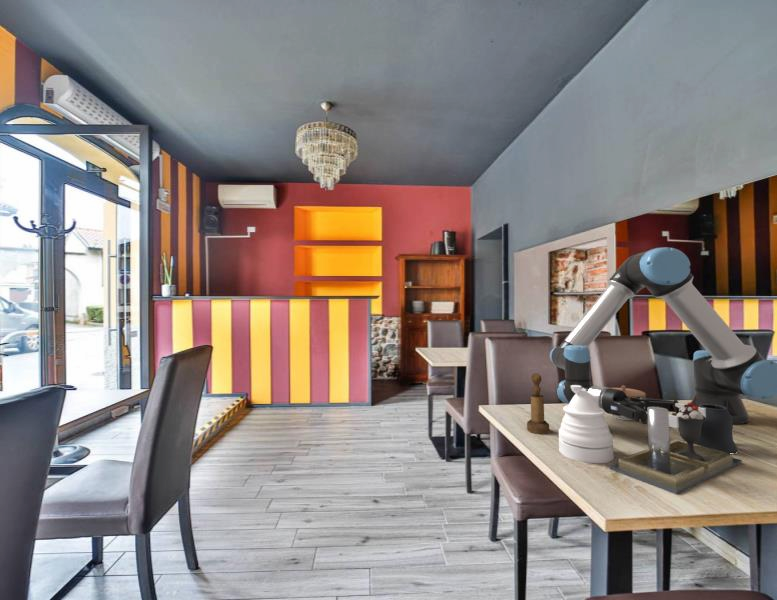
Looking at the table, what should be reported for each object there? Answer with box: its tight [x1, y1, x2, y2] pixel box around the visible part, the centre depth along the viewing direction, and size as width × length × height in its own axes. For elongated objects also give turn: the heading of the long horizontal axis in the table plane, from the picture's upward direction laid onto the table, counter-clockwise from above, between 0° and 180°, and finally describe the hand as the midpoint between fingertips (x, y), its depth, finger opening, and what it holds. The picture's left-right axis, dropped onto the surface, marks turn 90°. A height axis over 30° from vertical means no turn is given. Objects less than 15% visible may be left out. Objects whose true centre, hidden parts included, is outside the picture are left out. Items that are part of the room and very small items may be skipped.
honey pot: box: [558, 385, 614, 464], centre depth 99 cm, size 13×13×18 cm
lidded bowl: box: [611, 385, 647, 421], centre depth 129 cm, size 13×13×11 cm
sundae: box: [671, 397, 706, 460], centre depth 93 cm, size 7×7×15 cm
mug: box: [694, 404, 739, 453], centre depth 101 cm, size 12×9×11 cm
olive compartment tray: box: [609, 407, 743, 495], centre depth 90 cm, size 30×14×15 cm, turn 117°
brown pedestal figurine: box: [526, 373, 550, 435], centre depth 118 cm, size 7×6×18 cm
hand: (692, 418), depth 92 cm, fingers open, 13 cm apart
